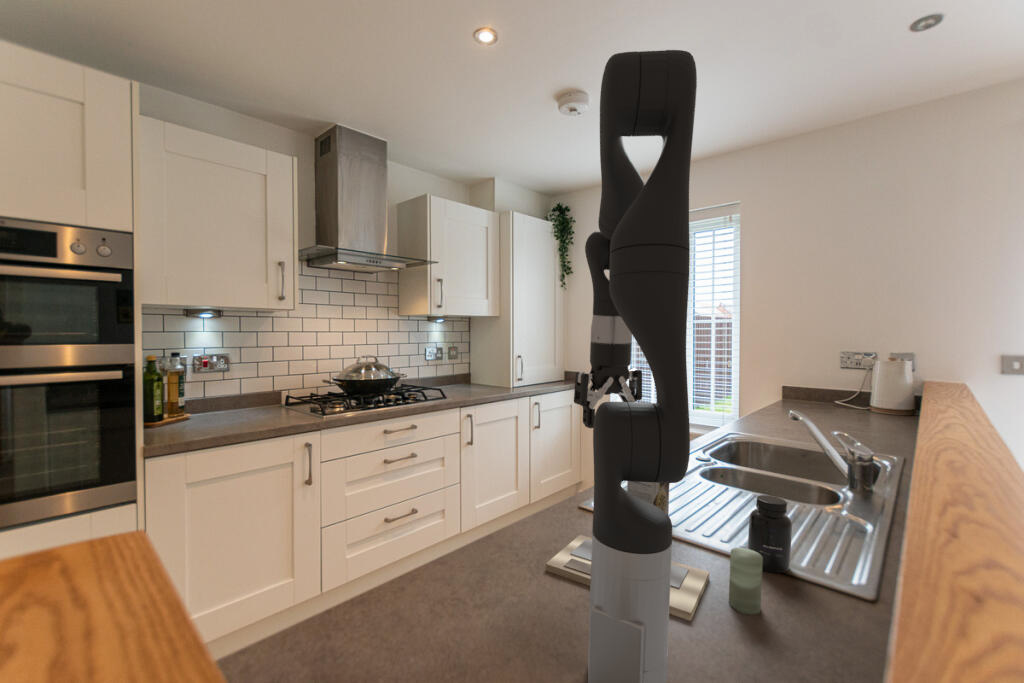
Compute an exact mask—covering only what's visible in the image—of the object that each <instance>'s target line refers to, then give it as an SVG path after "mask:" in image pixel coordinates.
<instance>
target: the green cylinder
mask: <svg viewBox="0 0 1024 683" xmlns="http://www.w3.org/2000/svg"><path fill="white" fill-rule="evenodd" d="M762 563H763V557H762V556H761V555H760V554H759V553H757V552H755V551H753V550H750V549H748V548H745V547H734V548H731V549H730V559H729V580H728V581H729V586H728V604H729V605H730V607H731V608H732V609H733V610H735V611H738V612H739V613H742V614H746V615H758V614H760V613H761V609H762V608H761V607H762V586H763V584H762V583H763V570H762Z"/></svg>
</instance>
